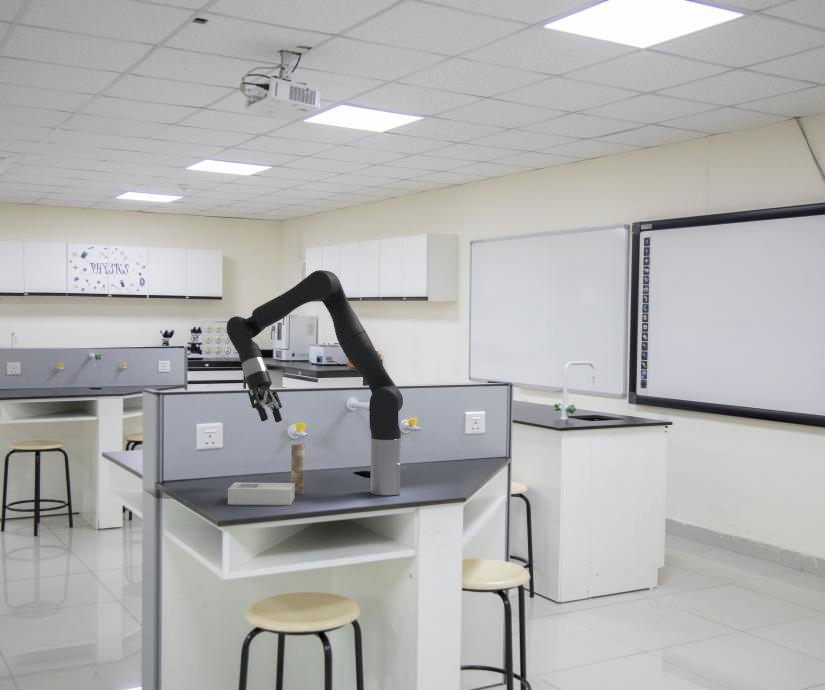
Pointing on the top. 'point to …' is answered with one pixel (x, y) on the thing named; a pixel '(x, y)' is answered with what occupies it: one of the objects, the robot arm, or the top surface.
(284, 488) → the hole block
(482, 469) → the top surface
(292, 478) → the birch peg
